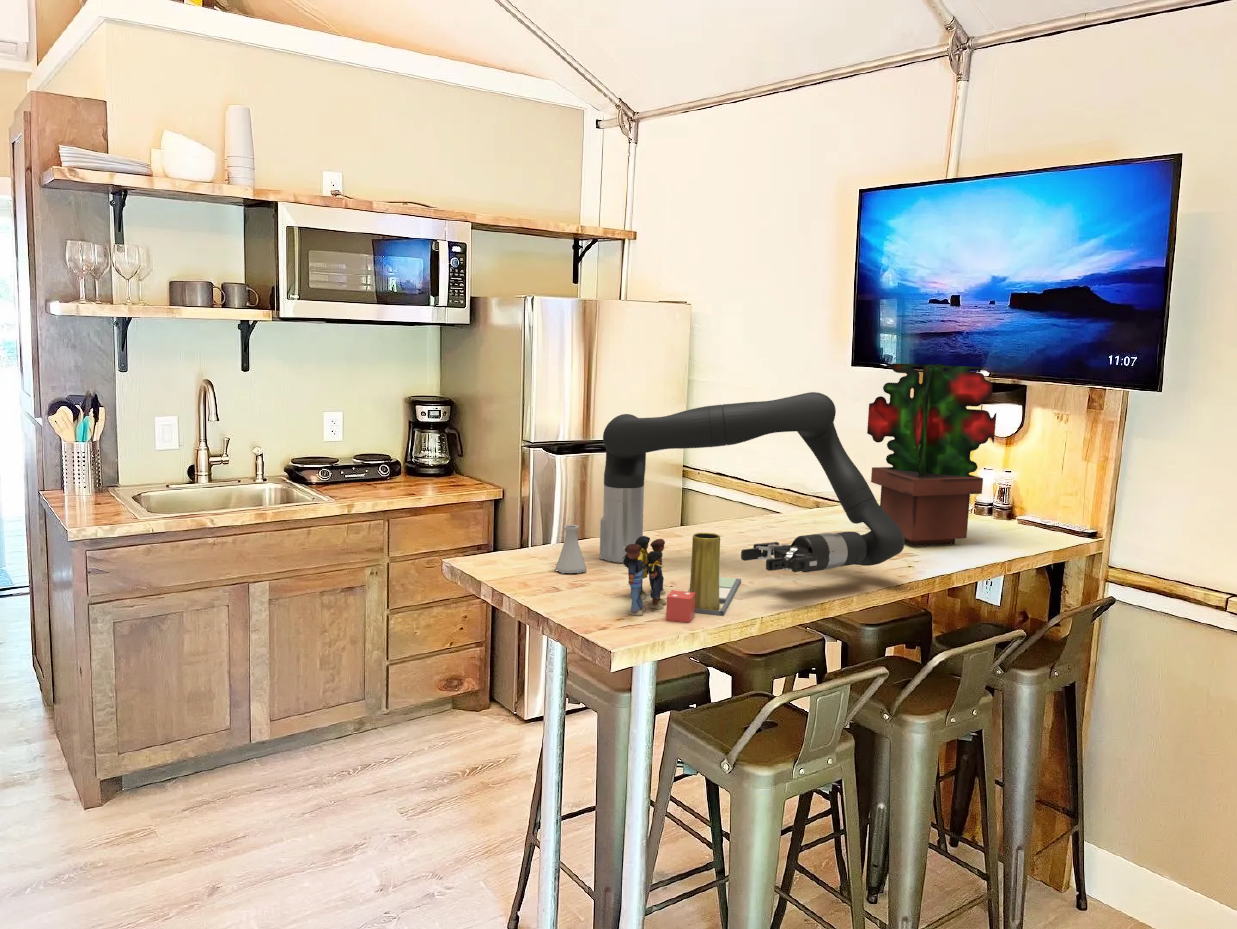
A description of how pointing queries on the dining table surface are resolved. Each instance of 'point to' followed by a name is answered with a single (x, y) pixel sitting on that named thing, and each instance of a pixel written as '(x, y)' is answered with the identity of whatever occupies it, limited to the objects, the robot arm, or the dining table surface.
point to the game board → (723, 595)
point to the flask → (571, 553)
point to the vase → (705, 570)
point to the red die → (680, 606)
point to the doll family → (645, 572)
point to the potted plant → (931, 449)
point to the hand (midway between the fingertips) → (754, 560)
